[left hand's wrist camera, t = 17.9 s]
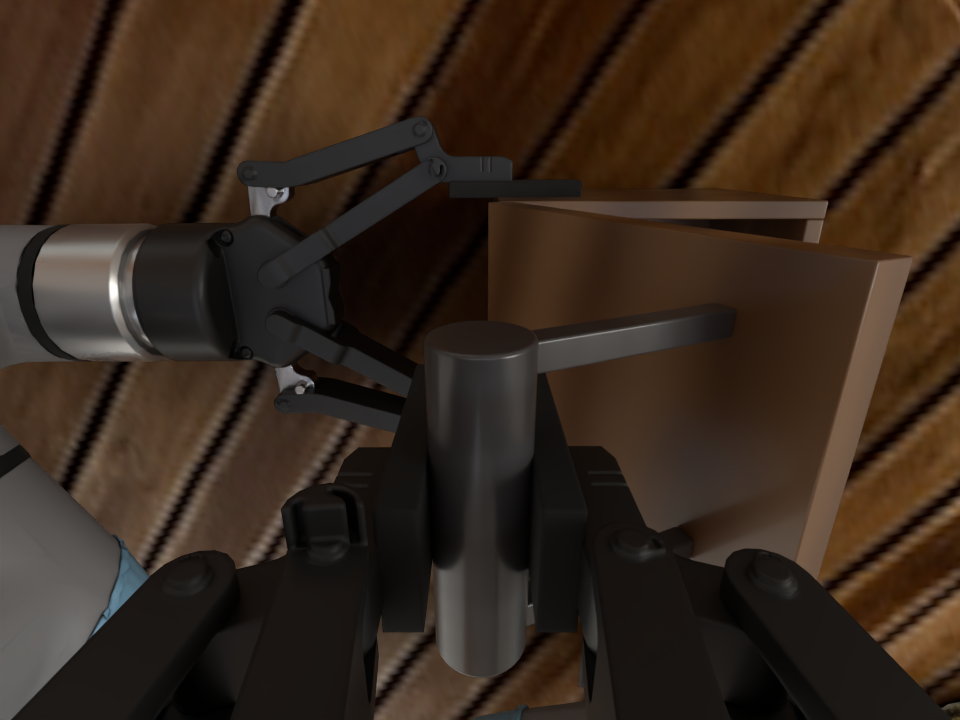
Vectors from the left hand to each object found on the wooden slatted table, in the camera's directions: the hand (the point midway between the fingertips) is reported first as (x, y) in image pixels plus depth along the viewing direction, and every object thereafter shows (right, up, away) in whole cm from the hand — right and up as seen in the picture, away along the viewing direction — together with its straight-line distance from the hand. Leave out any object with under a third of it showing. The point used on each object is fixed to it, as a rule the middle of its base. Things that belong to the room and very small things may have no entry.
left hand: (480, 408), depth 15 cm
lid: (+5, +1, +3) cm, 6 cm away
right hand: (+5, +5, +14) cm, 15 cm away
